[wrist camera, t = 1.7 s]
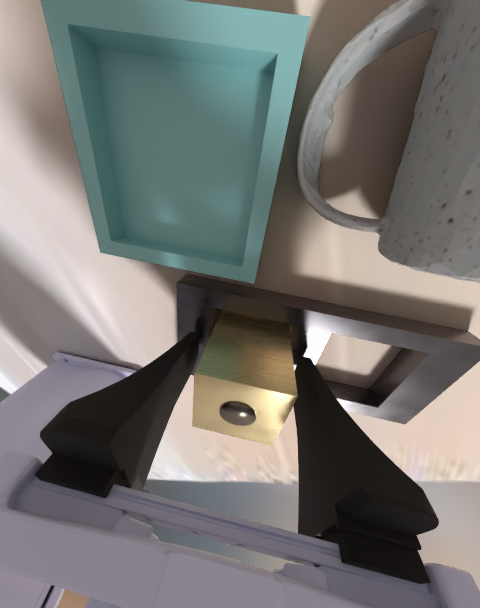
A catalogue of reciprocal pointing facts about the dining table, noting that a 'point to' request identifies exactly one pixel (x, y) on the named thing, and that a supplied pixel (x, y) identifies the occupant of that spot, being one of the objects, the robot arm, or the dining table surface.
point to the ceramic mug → (417, 140)
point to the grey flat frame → (346, 321)
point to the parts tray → (178, 124)
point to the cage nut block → (245, 378)
